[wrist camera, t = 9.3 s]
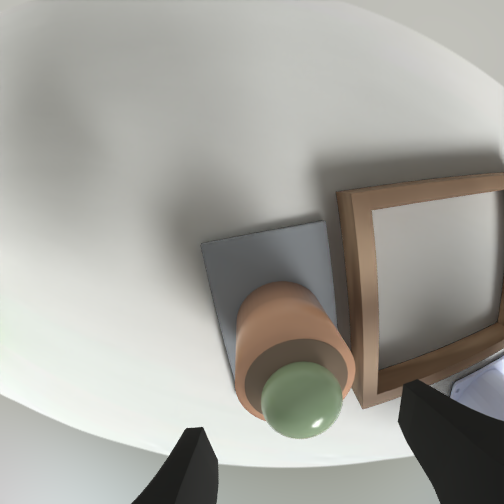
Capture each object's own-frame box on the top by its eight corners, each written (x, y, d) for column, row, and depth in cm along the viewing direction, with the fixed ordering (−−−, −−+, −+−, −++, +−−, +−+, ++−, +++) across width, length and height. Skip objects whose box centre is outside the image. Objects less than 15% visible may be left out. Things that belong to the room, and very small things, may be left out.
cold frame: (502, 328, 19) (518, 339, 17) (351, 388, 20) (362, 409, 17) (509, 171, 16) (530, 172, 14) (335, 191, 16) (351, 193, 14)
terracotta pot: (325, 349, 18) (373, 449, 10) (245, 365, 18) (249, 476, 10) (317, 273, 17) (382, 352, 8) (228, 290, 17) (217, 387, 8)
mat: (338, 376, 19) (340, 380, 19) (240, 396, 19) (240, 400, 19) (323, 220, 17) (325, 221, 16) (202, 243, 17) (200, 245, 16)
